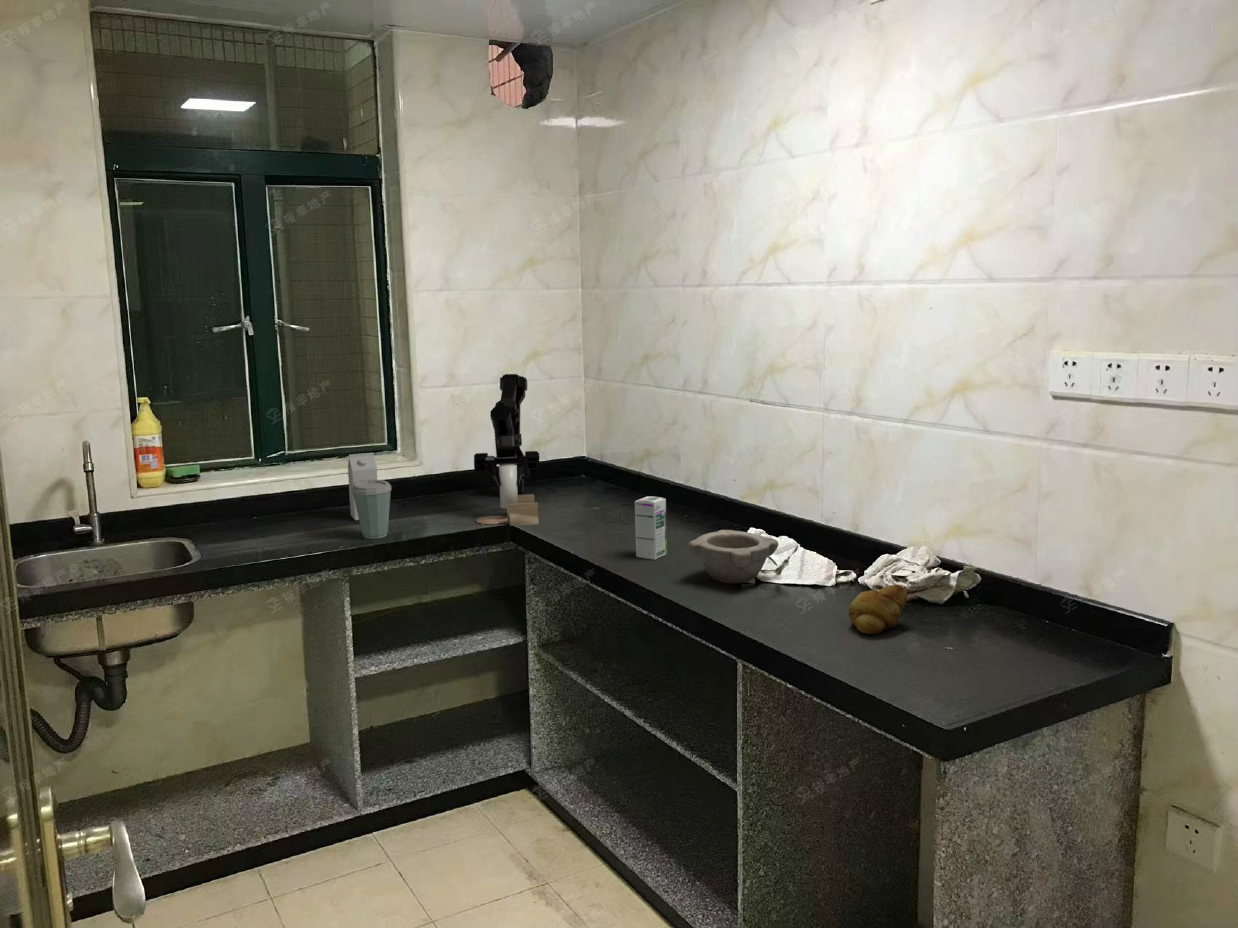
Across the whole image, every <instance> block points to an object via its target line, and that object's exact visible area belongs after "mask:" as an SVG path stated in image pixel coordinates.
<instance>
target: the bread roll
mask: <svg viewBox="0 0 1238 928" xmlns="http://www.w3.org/2000/svg"><path fill="white" fill-rule="evenodd" d="M907 598H908V594H907V590H906V589H905V588H904V587H903V586H902V585H900V584H893V585H887V586H885V587H883V588H881V589H879V590H878V591H877V590H873V589H871V590H865V591H860V593H859V594H858V595H856V597H855V598H854V599H853V600H852V602H850V605H849V607H848V608H847V609H848V617H849V619H850V621H851V623H852V624H853V625H854V626H855V627H856V628H857V630H858V631H859V632H861V633H863V634H865V635H866V634H867V635H877V634H881V632H883V631H884V630H890V629H893V628H895V627H896V626H897V625H898V623H900V618H901V615H902V611H903V609H904V608H905V606H906V603H907V600H908V599H907Z"/></svg>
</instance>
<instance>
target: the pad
mask: <svg viewBox="0 0 1238 928" xmlns="http://www.w3.org/2000/svg"><path fill="white" fill-rule="evenodd" d="M475 520H476V523H477V524H479V523H481V524H480V525H484V524H490V525H491V524H495V525H499V524H498V523H502V524H505V523H507V522H508V520H509V518H508V516H507V517H506V516H502V515H486V516H481V517H480V516H479V517H477V518H476V519H475ZM506 521H507V522H506ZM504 522H505V523H504ZM490 525H489V526H490ZM491 526H492V525H491Z"/></svg>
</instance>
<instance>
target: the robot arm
mask: <svg viewBox="0 0 1238 928" xmlns="http://www.w3.org/2000/svg"><path fill="white" fill-rule="evenodd" d="M499 390H500V391H501V394H500V395H501V396H500V400H499V401H497V402H496V403H495V404H494V407H492V409H491V410H490V413H489V414H490V416H489V418H490V420H491V424H492V428H493V433H494V441H495V442H494V443H495V456H494V455H489V454H488V452H476V453H475V454H474V455H473V470H474V472H485V473H486V474H489V475H490V476H491V477H492V479H493V480H494V481H495V483H496V484H497V486H498V487H500V479H499V468H498V466H499V465H504V464H515V465H517V493H518V495H529V493H525V490H526V489H525V480H526V479H529V478H530V470H537V469H539V466H540V453H539V452H538V451H537V450H526V451H525V452H523V451H522V449H521V447H522V444H523V439H522V433H521V404H522V402H523V401H524V400H525V397H526V391H528V379H527V377H525V376H522V375H521V376H520V375H519V374H517V373H505V374H502V376H501V377H499Z"/></svg>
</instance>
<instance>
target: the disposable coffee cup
mask: <svg viewBox="0 0 1238 928" xmlns="http://www.w3.org/2000/svg"><path fill="white" fill-rule="evenodd" d="M391 491H392V485H391V484H390V482H388V481H386V480H384V479H383V480H381V479H378V478H377V479H366V480H360V481H357V482H354V484H353V487H352V493H353V496H354V500H355V504H356V509H357V513H358V517H359V520H358V521H359V525H360V529H361V534H362V535H363V538H364V539H369V540H375V539H381V538H385V537H387V536H388V533H389V518H390V505H391Z"/></svg>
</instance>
